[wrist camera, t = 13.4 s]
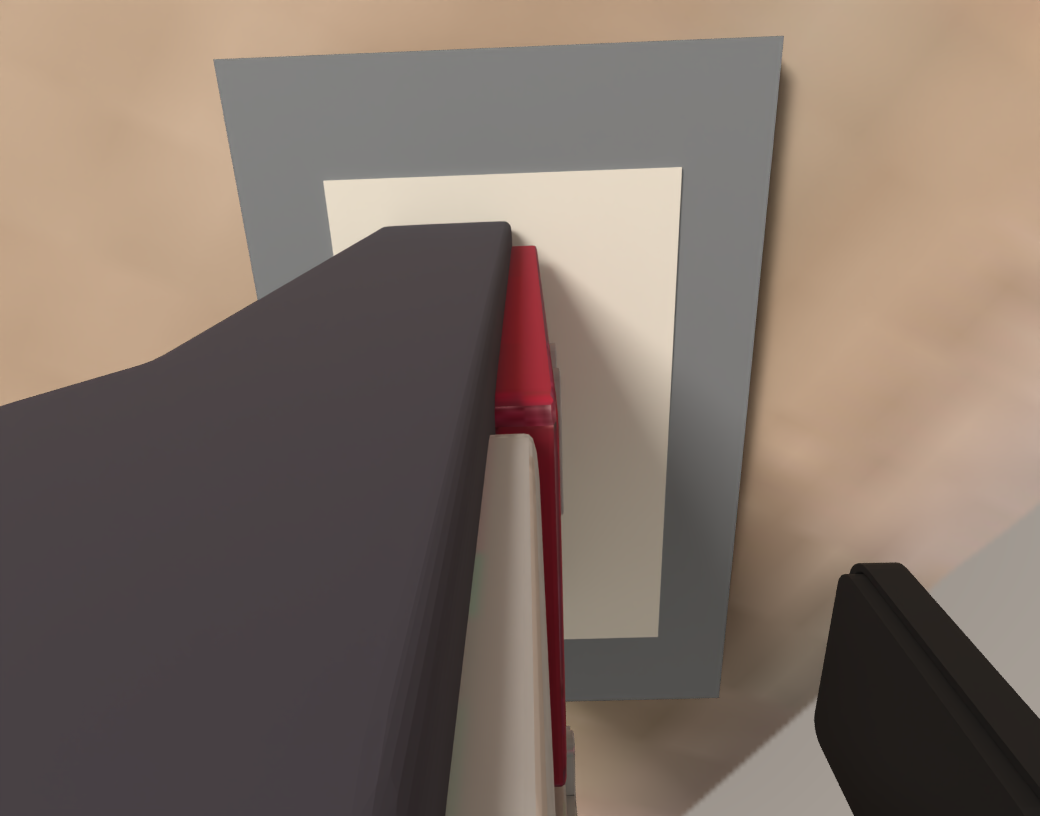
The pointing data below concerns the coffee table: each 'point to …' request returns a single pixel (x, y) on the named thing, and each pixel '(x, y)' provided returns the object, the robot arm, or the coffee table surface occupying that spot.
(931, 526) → the coffee table surface
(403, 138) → the slate picture frame
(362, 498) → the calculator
